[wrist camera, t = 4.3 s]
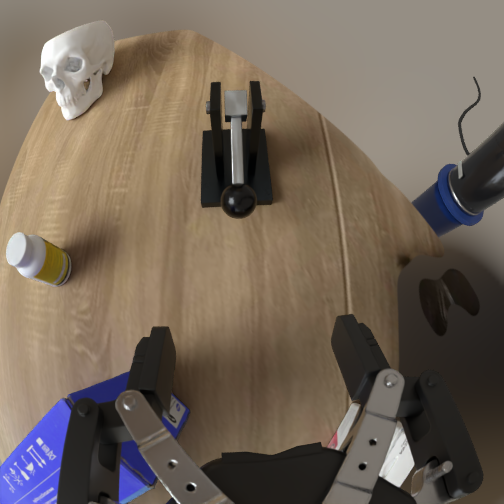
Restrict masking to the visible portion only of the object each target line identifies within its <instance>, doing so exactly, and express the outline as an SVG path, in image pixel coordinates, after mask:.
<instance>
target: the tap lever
mask: <svg viewBox="0 0 504 504" xmlns="http://www.w3.org/2000/svg"><path fill="white" fill-rule="evenodd" d="M246 119H247V91H246V90H236V91H225V122H231V155H232V184H231V185H229V186H228V187H226V188H225V190H224V191H223V193H222V195H221V201H220V202H221V207H222V209H223V211H224V212H225V213H226V214H227V215H228V216H230V217H232V218H235V219H242V218H245V217H247V216H249V215H250V214H251V213H252V212H253V211H254V210H255V208H256V204H257V197H256V194H255V192H254V190H253V189H252V188H251V187H250V186H249V185H247V184H244V174H243V146H242V122H245V121H246Z"/></svg>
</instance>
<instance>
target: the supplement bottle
mask: <svg viewBox="0 0 504 504" xmlns="http://www.w3.org/2000/svg"><path fill="white" fill-rule="evenodd" d="M6 257H7V261H8V262H9V264H10V265H12V266H14V267H17V269H18V271H19V273H20V274H21V275H23V276H25V277H27V278H30V279H33V280H35V281H38V282H41V283H44V284H47V285H50V286H54V287H58V286H61V285H63V284H64V283H65V282H66V281H67V279H68V277H69V275H70V272H71V260H70V257H69V255H68V254H67V253H66V252H65V251H64V250H62V249H60V248H59V247H57V246H55V245H53V244H52V243H50V242H48V241H46V240H45V239H43V238H41V237H39V236H37V235H29V236H27V235H25V234H23V233H21V232H18V233H16V234H14V235H13V236H12V237H11V239H10V240H9V243H8V245H7V250H6Z"/></svg>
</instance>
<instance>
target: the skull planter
mask: <svg viewBox="0 0 504 504" xmlns="http://www.w3.org/2000/svg"><path fill="white" fill-rule="evenodd" d="M114 53H115V48H114V37H113V32H112V29H111V27H110V26H109V24H108V23H106V22H105V21H103V20H99V21H95V22H91V23H88V24H85V25H82V26H79V27H77V28H74V29H72V30H69V31H67V32H65V33H63V34H60V35H58V36H56V37H55V38H53V39H51V40H50V41H48V42H47V43H46V44H45V45H44V48H43V50H42V56H41V68H40V74H41V75H42V76H43V77H44V79H45V84H46V88H47V90H48V91H49V92H51V91H55V92H56V100H57V102H58V105H59V106H61V108H62V113H63V116H64V118H65V119H66V120H70V119H74V118H76V117H77V116H79V115H81V114H82V113H84V112H85V111H86V110H87V109H88V108H89V107H90V106H91V104H92V103H93V102H94V101H95V100H96V99H98V98H99V97H100V96H101V95H102V92H103V86H102V73H103V74H104V75H107V74H109V72H110V70H111V68H112V66H113V61H114ZM86 79H90V85H89V88H88V89H87V90H85V87H84V82H87V81H88V80H86Z"/></svg>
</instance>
